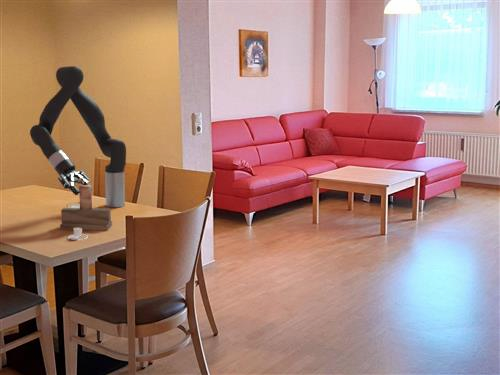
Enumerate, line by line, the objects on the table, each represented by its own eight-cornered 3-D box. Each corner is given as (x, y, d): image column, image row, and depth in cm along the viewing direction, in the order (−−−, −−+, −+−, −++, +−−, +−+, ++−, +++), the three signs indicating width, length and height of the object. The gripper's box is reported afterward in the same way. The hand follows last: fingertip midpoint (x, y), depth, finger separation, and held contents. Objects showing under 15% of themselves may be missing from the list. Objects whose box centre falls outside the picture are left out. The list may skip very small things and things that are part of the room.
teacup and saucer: (73, 242, 243) (73, 232, 242) (62, 238, 248) (61, 228, 248) (92, 238, 250) (91, 228, 249) (80, 234, 255) (80, 225, 254)
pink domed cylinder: (81, 207, 266) (80, 185, 264) (93, 208, 266) (92, 185, 264) (78, 210, 261) (77, 187, 259) (90, 210, 261) (89, 187, 259)
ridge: (66, 224, 269) (65, 206, 268) (112, 225, 270) (111, 207, 268) (60, 229, 260) (59, 211, 259) (107, 230, 261) (107, 211, 259)
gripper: (55, 160, 257) (78, 189, 255) (77, 156, 270) (99, 184, 268) (45, 171, 260) (68, 201, 258) (68, 167, 273) (90, 195, 271)
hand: (84, 192), depth 263 cm, fingers open, 8 cm apart
